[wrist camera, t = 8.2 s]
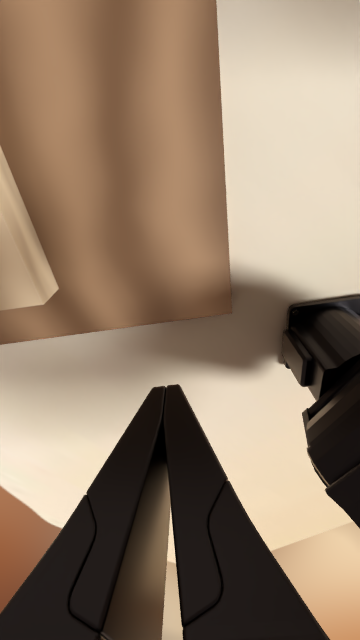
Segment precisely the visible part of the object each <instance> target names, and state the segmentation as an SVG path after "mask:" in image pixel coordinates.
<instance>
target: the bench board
mask: <svg viewBox="0 0 360 640" xmlns="http://www.w3.org/2000/svg"><path fill="white" fill-rule="evenodd" d="M0 146H1V149H2V151H3V154H4V156H5V158H6V161H7V163H8V166H9V168H10V171H11V173H12V175H13V178H14V180H15V183H16V185H17V188H18V190H19V193H20V195H21V197H22V200H23V202H24V205H25V207H26V210H27V212H28V214H29V217H30V219H31V222H32V224H33V227H34V229H35V231H36V234H37V236H38V239H39V241H40V244H41V246H42V248H43V251H44V253H45V256H46V258H47V261H48V263H49V266H50V268H51V270H52V273H53V275H54V278H55V280H56V283H57V285H58V287H59V289H58V290H57V291H56V292H55V293H54V294H53V296H52V297H51V298H50V299H49V300H48V301H47V302H46V303H45V304H44V305H37V306H30V307H23V308H15V309H8V310H1V311H0V345H1V344H8V343H16V342H23V341H30V340H38V339H45V338H53V337H60V336H67V335H75V334H82V333H89V332H97V331H104V330H112V329H119V328H126V327H134V326H141V325H148V324H156V323H163V322H170V321H178V320H185V319H193V318H200V317H207V316H215V315H222V314H229V313H232V302H231V283H230V263H229V243H228V224H227V204H226V185H225V165H224V145H223V126H222V106H221V86H220V67H219V47H218V28H217V8H216V0H0Z"/></svg>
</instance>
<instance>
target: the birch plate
mask: <svg viewBox="0 0 360 640" xmlns="http://www.w3.org/2000/svg"><path fill="white" fill-rule="evenodd" d="M58 289H59V287H58V285H57V283H56V280H55V278H54V275H53V273H52V270H51V268H50V266H49V263H48V261H47V258H46V256H45V253H44V251H43V248H42V246H41V244H40V241H39V239H38V236H37V234H36V231H35V229H34V227H33V224H32V222H31V219H30V217H29V214H28V212H27V210H26V207H25V205H24V202H23V200H22V197H21V195H20V193H19V190H18V188H17V185H16V183H15V180H14V178H13V175H12V173H11V171H10V168H9V166H8V163H7V161H6V158H5V156H4V154H3V151H2V149H1V146H0V311H1V310H8V309H15V308H23V307H30V306H37V305H44V304H45V303H46V302H47V301H48V300H49V299H50V298H51V297H52V296H53V294H54V293H55V292H56V291H57V290H58Z"/></svg>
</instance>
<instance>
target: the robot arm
mask: <svg viewBox="0 0 360 640" xmlns="http://www.w3.org/2000/svg"><path fill="white" fill-rule="evenodd" d="M294 310H297V311H296V312H294V313H293V311H294ZM282 355H283V357H284V365H285V367H286V368H288V369H291V371H292V372H293V374H294V376H295V378H296V379H297V381H298V383H299V384H300V385H301V386H302V387H308V388H309V390H310V391H311V393H312V395H313V396H314V398H315V400H316V402H315V403H314V404H313V405H312V406H311V407H310V408H309V409H308V408H307V409H306V410H305V411H304V412H303V413H302V416H303V422H304V427H305V433H306V438H307V444H308V448H307V452H308V456H309V457H310V459H311V462H312V465H313V467H314V470H315V472H316V473H317V474H318V476H319V478H320V479H321V481H322V482H323V483H324V484H325V486H326V487H327V488H326V489H325V491H326V493H327V495H328V496H329V497H330V498H332V499H333V500H334V501H335V502H336V503H337V504H338V505H339V506H340V507H341V508H342V509H343V510H344V511H345V512H346V513H347V514H348V515H349V516H350V518H351V519H352V520H353V521H354V522H355V523H356V525H357V526H358V527H359V528H360V296H354V297H347V298H340V299H332V300H325V301H318V302H310V303H303V304H295V305H292V306H290V307H289V308H288V311H287V325H286V329H285V330H284V332H283V344H282ZM170 506H171V513H172V524H173V534H174V545H175V556H176V567H177V577H178V589H179V599H180V611H181V622H182V627H183V640H330V639H329V638H328V636H327V635H326V634H325V632H324V631H323V629H322V628H321V626H320V625H319V623H318V622H317V621H316V619H315V618H314V616H313V615H312V613H311V612H310V610H309V609H308V607H307V606H306V604H305V603H304V601H303V600H302V598H301V597H300V595H299V594H298V592H297V591H296V589H295V588H294V586H293V585H292V583H291V582H290V580H289V579H288V577H287V576H286V574H285V573H284V571H283V570H282V568H281V567H280V565H279V564H278V562H277V561H276V559H275V558H274V556H273V555H272V553H271V552H270V550H269V549H268V547H267V546H266V544H265V542H264V541H263V539H262V538H261V536H260V534H259V533H258V531H257V530H256V528H255V526H254V525H253V523H252V522H251V520H250V518H249V517H248V515H247V513H246V511H245V509H244V508H243V506H242V504H241V502H240V500H239V499H238V497H237V495H236V493H235V491H234V489H233V487H232V485H231V483H230V481H228V478H227V476H226V474H225V472H224V470H223V468H222V466H221V464H220V462H219V460H218V458H217V456H216V455H215V453H214V451H213V449H212V447H211V445H210V443H209V441H208V439H207V437H206V435H205V433H204V431H203V429H202V427H201V425H200V423H199V422H198V420H197V418H196V416H195V414H194V412H193V410H192V408H191V406H190V404H189V402H188V400H187V398H186V396H185V394H184V392H183V391H182V389H181V387H180V385H178V384H177V385H168V386H167V387H165V386H160V387H154V388H152V389H151V391H150V393H149V394H148V396H147V397H146V399H145V401H144V402H143V404H142V405H141V407H140V408H139V410H138V412H137V413H136V415H135V416H134V418H133V419H132V421H131V423H130V424H129V426H128V427H127V429H126V430H125V432H124V434H123V435H122V437H121V438H120V440H119V442H118V443H117V445H116V446H115V448H114V449H113V451H112V453H111V454H110V456H109V457H108V459H107V460H106V462H105V464H104V465H103V467H102V468H101V470H100V471H99V473H98V475H97V476H96V478H95V479H94V481H93V483H92V484H91V486H90V487H89V489H88V490H87V495H84V496H83V498H82V500H81V501H80V503H79V504H78V506H77V508H76V509H75V511H74V512H73V514H72V515H71V517H70V518H69V520H68V521H67V523H66V524H65V526H64V527H63V529H62V530H61V532H60V533H59V535H58V536H57V538H56V539H55V540H54V542H53V543H52V545H51V546H50V548H49V549H48V550H47V551H46V553H45V554H44V556H43V557H42V558H41V560H40V561H39V562H38V564H37V565H36V567H35V568H34V569H33V571H32V572H31V573H30V575H29V576H28V577H27V579H26V580H25V582H24V583H23V584H22V585H21V587H20V588H19V589H18V591H17V592H16V593H15V595H14V596H13V597H12V599H11V600H10V601H9V603H8V604H7V605H6V607H5V608H4V609H3V611H2V612H1V613H0V640H162V625H163V610H164V595H165V580H166V565H167V551H168V536H169V521H170Z"/></svg>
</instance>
